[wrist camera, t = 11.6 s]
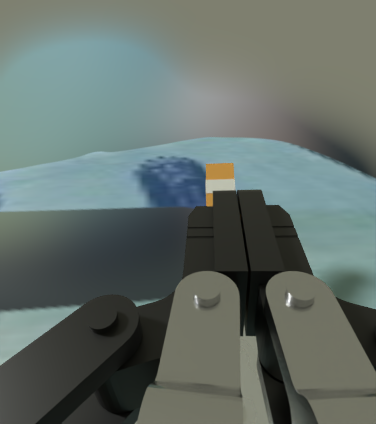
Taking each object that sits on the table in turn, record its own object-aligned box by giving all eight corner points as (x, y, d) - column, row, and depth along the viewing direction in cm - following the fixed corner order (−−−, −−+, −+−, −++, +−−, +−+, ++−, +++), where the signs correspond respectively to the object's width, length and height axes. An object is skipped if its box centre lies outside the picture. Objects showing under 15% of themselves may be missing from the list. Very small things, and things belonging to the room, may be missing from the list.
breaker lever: (207, 316, 27) (205, 163, 33) (207, 317, 29) (206, 172, 35) (241, 316, 27) (233, 162, 33) (239, 318, 29) (232, 171, 35)
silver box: (101, 457, 24) (83, 424, 21) (127, 351, 32) (116, 315, 28) (281, 466, 23) (290, 432, 20) (263, 354, 30) (268, 317, 27)
